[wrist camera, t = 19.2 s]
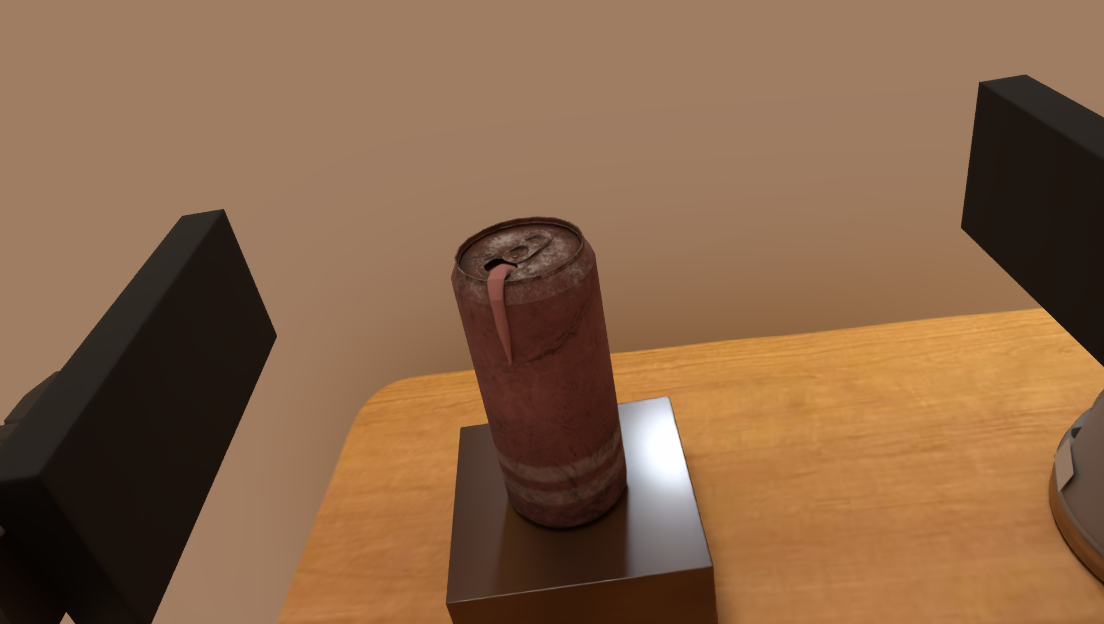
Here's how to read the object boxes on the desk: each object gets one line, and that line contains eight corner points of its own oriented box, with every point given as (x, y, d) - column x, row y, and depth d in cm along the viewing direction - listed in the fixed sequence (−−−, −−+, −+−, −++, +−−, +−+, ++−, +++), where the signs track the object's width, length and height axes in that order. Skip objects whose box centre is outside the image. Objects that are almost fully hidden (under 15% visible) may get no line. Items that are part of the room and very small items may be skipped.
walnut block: (676, 460, 48) (669, 395, 46) (718, 636, 38) (713, 566, 36) (478, 489, 49) (460, 427, 46) (469, 670, 39) (445, 603, 36)
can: (498, 538, 39) (428, 292, 31) (519, 446, 44) (463, 217, 37) (624, 537, 38) (583, 281, 30) (630, 443, 43) (596, 205, 35)
